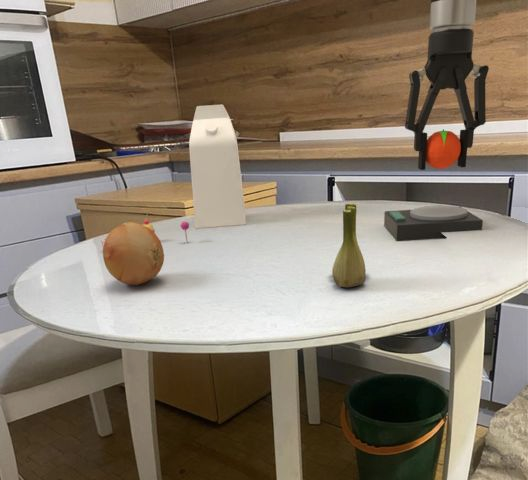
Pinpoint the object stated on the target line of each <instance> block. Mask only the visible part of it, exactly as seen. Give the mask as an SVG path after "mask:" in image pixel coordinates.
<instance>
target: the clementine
mask: <svg viewBox="0 0 528 480" xmlns="http://www.w3.org/2000/svg"><path fill="white" fill-rule="evenodd" d="M460 152H461V143H460V137H458V135H457V134H456V133H454V132H453V131H451V130H445V129H442V130H440V131H435V132H433V133H432V134H430V136H428V137H427V148H426V164H427V165H429V166H430V167H432V168H434V169H439V170H441V169H442V170H443V169H446V168H449V167H451V166H453V165H454V164H455V163H456V162H457V161H458V157H459V155H460Z"/></svg>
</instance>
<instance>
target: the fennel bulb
mask: <svg viewBox="0 0 528 480" xmlns="http://www.w3.org/2000/svg"><path fill="white" fill-rule="evenodd" d="M342 232H343V233H342V234H343V235H342V244H341V246H340V248H339V250H338V252H337V254H336V257H335V259H334V262H333V266H332V270H331V271H332V272H331V273H332V278H333V281H334V283H335V284H336V285H337V286H338V287H341V288H355V287H358V286H362V285H363V284H364V282H365V281H366V279H367V275H366V272H367V271H366V270H367V269H366V264H365V263H366V262H365V259H364V256H363V254H362V251H361V248H360V246H359V243H358V242H359V241H358V239H357V204H356V203H345V205H344V209H343V210H342Z"/></svg>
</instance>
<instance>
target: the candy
mask: <svg viewBox="0 0 528 480" xmlns="http://www.w3.org/2000/svg"><path fill="white" fill-rule="evenodd" d="M148 214H149V213H146V217H145V219H144V220H143V225H144V226H146V227H147V228H149V229H150V230H152V231H153V232H154V233H155V234H156V231H155V227H154V225H153V224H151V223H150V221H149V219H148ZM189 228H190V224H189V223H188V221H182V222H181V223H180V229H182V230H183V231H184V235H185V243H189V242H188V233H187V231H188V230H189ZM105 240H106V238H103V237H101V238H100V243H101V246H102V248H103V246H104V243H105Z"/></svg>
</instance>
